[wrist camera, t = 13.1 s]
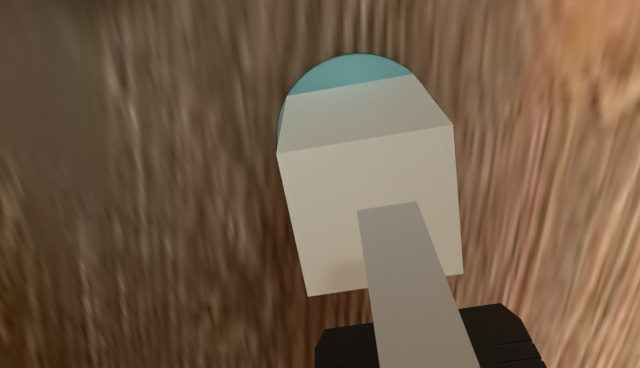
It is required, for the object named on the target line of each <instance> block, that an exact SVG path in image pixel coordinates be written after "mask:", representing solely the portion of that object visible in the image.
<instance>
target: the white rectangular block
mask: <svg viewBox="0 0 640 368" xmlns="http://www.w3.org/2000/svg"><path fill="white" fill-rule="evenodd" d="M276 156H277V160H278V165H279V169H280V174H281V178H282V183H283V187H284V192H285V196H286V201H287V205H288V210H289V214H290V219H291V223H292V228H293V232H294V237H295V241H296V246H297V250H298V255H299V259H300V264H301V268H302V273H303V277H304V281H305V286H306V290H307V295H308V297H310V296H316V295H323V294H330V293H337V292H343V291H350V290H357V289H363V288H368V283H367V276H366V269H365V262H364V256H363V249H362V242H361V235H360V229H359V222H358V215H357V210H362V209H368V208H375V207H381V206H388V205H394V204H401V203H407V202H414V201H417V203H418V206H419V209H420V211H421V214H422V216H423V219H424V222H425V224H426V227H427V229H428V232H429V235H430V237H431V240H432V243H433V245H434V248H435V250H436V253H437V256H438V258H439V261H440V263H441V266H442V269H443V271H444V274H445V276H451V275H458V274H463V260H462V246H461V232H460V217H459V203H458V189H457V174H456V160H455V145H454V131H453V124H452V123H451V121H450V120H449V119H448V117H447V116H446V115H445V114H444V112H443V111H442V110H441V109H440V107H439V106H438V105H437V104H436V102H435V101H434V100H433V99H432V97H431V96H430V95H429V93H428V92H427V91H426V90H425V88H424V87H423V86H422V85H421V83H420V82H419V81H418V80H417V78H416V77H415V76H414V75H413V74H411V75H405V76H399V77H393V78H388V79H382V80H376V81H370V82H365V83H359V84H353V85H347V86H341V87H336V88H330V89H324V90H318V91H313V92H307V93H301V94H295V95H289V96H287V98H286V103H285V108H284V114H283V119H282V125H281V130H280V135H279V141H278V146H277V152H276Z"/></svg>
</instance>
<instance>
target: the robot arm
mask: <svg viewBox="0 0 640 368" xmlns="http://www.w3.org/2000/svg"><path fill="white" fill-rule="evenodd" d="M357 215H358V222H359V229H360V235H361V242H362V249H363V256H364V262H365V269H366V276H367V283H368V289H369V296H370V303H371V310H372V317H373V323H367V324H360V325H352V326H345V327H338V328H331V329H325V330H324V332H323V334H322V336H321V338H320V340H319V342H318V344H317V346H316V348H315V368H547V367H546V365H545V363H544V361H542V360H541V356H540V354H539V352H538V350H537V348H536V347H535V345H534V344H533V343H532V339H531V337H530V335H529V334H528V332H527V330H526V328H525V326H524V324H523V322H522V321H521V319H520V318H519V317H518V316H516V315H515V314H514V313H512V312H511V311H510V310H509V309H507V308H506V307H505V306H504V305H502V304H501V303H498V304H491V305H484V306H477V307H470V308H462V309H458V308H457V305H456V303H455V300H454V298H453V295H452V292H451V290H450V287H449V284H448V282H447V279H446V277H445V274H444V271H443V269H442V266H441V263H440V261H439V258H438V256H437V253H436V250H435V248H434V245H433V243H432V240H431V237H430V235H429V232H428V229H427V227H426V224H425V222H424V219H423V216H422V214H421V211H420V209H419V206H418V203H417V201H414V202H407V203H401V204H394V205H388V206H381V207H375V208H368V209H362V210H357Z"/></svg>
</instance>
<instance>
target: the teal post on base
mask: <svg viewBox="0 0 640 368" xmlns="http://www.w3.org/2000/svg"><path fill="white" fill-rule="evenodd" d="M411 74H413V73H412V72H410V71H409V70H408V69H407V68H405V67H404V66H402V65H401V64H399V63H398V62H395V61H393V60H391V59H389V58H386V57H383V56H379V55H374V54H368V53H352V54H344V55H340V56H336V57H333V58H330V59H328V60H325V61H323V62H321V63H319V64H318V65H316V66H314V67H313V68H311V69H310V70H309V71H307V72H306V73H305V74H304V75H303V76H302V77H301V78H300V79H299V80H298V81H297V82H296V83H295V84H294V86H293V87H292V88H291V90H290V92H289V93H288V95H287V96H289V95H295V94H301V93H307V92H313V91H318V90H324V89H330V88H336V87H341V86H347V85H353V84H359V83H365V82H370V81H376V80H382V79H388V78H393V77H399V76H405V75H411ZM413 75H414V74H413ZM414 76H415V75H414ZM415 77H416V76H415ZM416 78H417V77H416ZM417 80H418V81H419V79H418V78H417ZM419 82H420V81H419ZM420 83H421V82H420ZM421 85H422V86H423V87H424V85H423V84H422V83H421ZM424 88H425V87H424ZM425 90H426V88H425ZM426 91H427V90H426ZM427 92H428V91H427ZM286 98H287V97H286ZM285 103H286V99H285V101H284V103H283V106H282V109H281V112H280V116H279V121H278V129H277V141H279V135H280V130H281V125H282V119H283V114H284V108H285Z"/></svg>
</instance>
